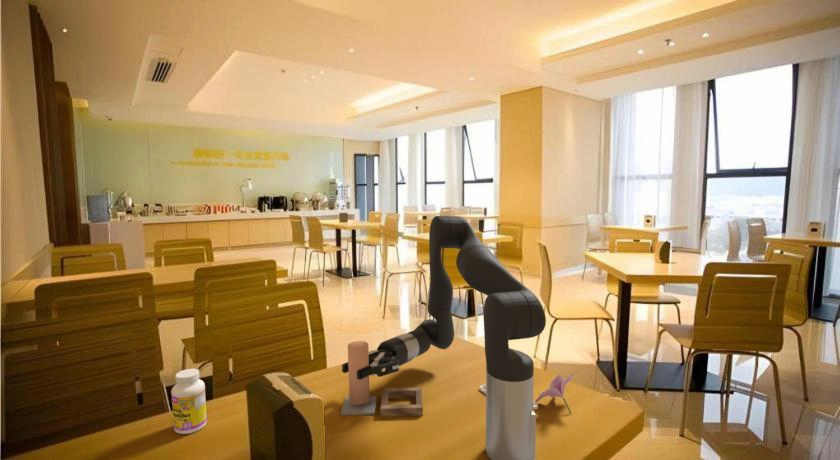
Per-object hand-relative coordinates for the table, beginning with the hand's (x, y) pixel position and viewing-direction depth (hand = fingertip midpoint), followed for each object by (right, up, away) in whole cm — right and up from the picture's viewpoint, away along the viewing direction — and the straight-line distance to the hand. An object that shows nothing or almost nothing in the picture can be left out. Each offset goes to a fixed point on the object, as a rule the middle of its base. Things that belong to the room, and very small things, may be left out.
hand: (350, 372), depth 101 cm
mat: (+2, -9, +3) cm, 10 cm away
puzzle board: (+12, -9, +3) cm, 16 cm away
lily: (+50, -9, +2) cm, 51 cm away
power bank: (+39, -9, +6) cm, 41 cm away
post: (+2, -8, +3) cm, 8 cm away
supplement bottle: (-35, -11, -5) cm, 38 cm away
